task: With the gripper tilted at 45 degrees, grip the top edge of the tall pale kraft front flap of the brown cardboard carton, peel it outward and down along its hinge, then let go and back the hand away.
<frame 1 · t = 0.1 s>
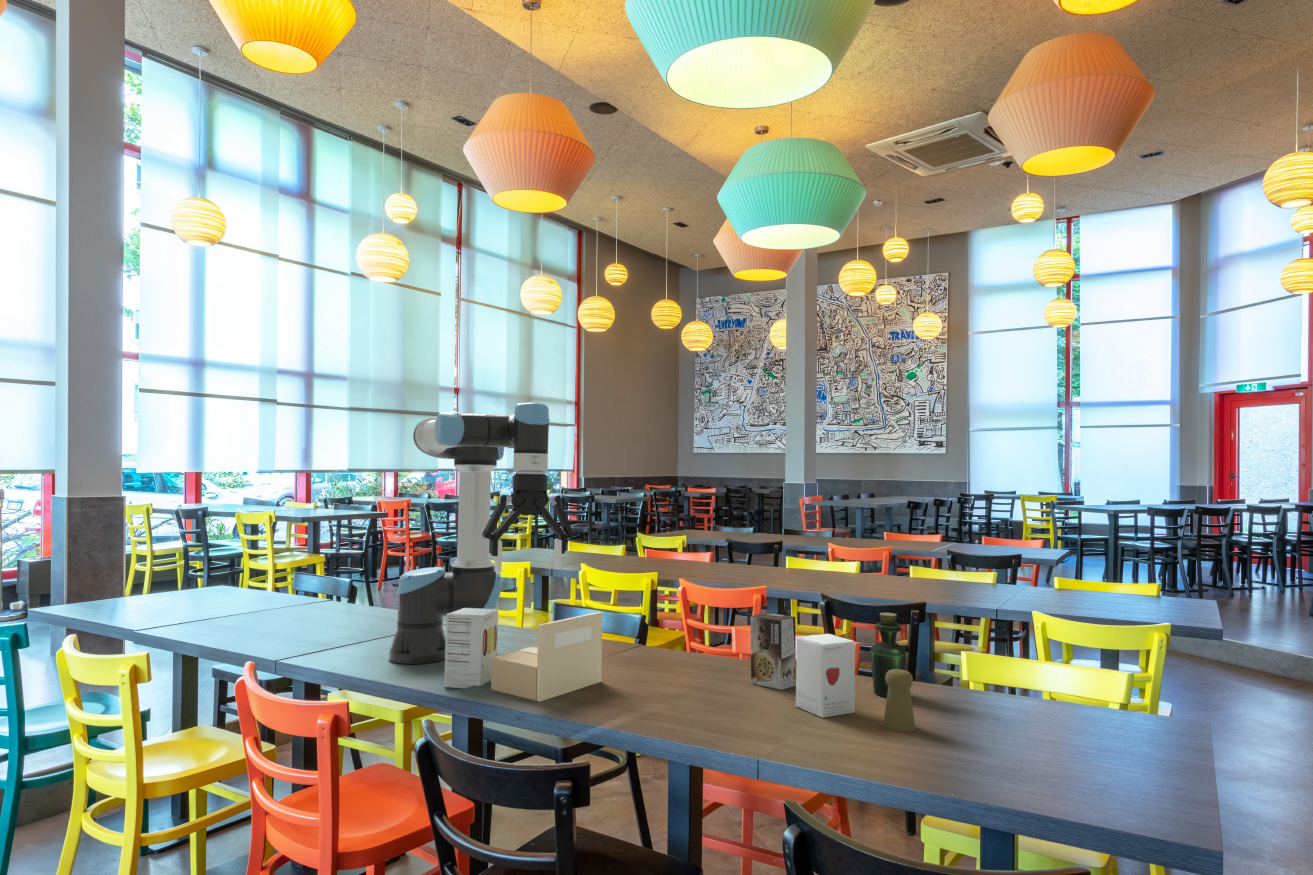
hand: (528, 570, 166), 28 cm above the table, tool pointing down, fingers open, 13 cm apart
potion bottle: (888, 694, 173), on the table
carton flap: (571, 654, 169), point 9 cm above the table, hinge at 0.0°
carton: (545, 689, 173), on the table
olive pawn: (899, 727, 150), on the table
supplement box: (470, 684, 177), on the table
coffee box: (773, 685, 180), on the table
supplement box 2: (825, 710, 160), on the table
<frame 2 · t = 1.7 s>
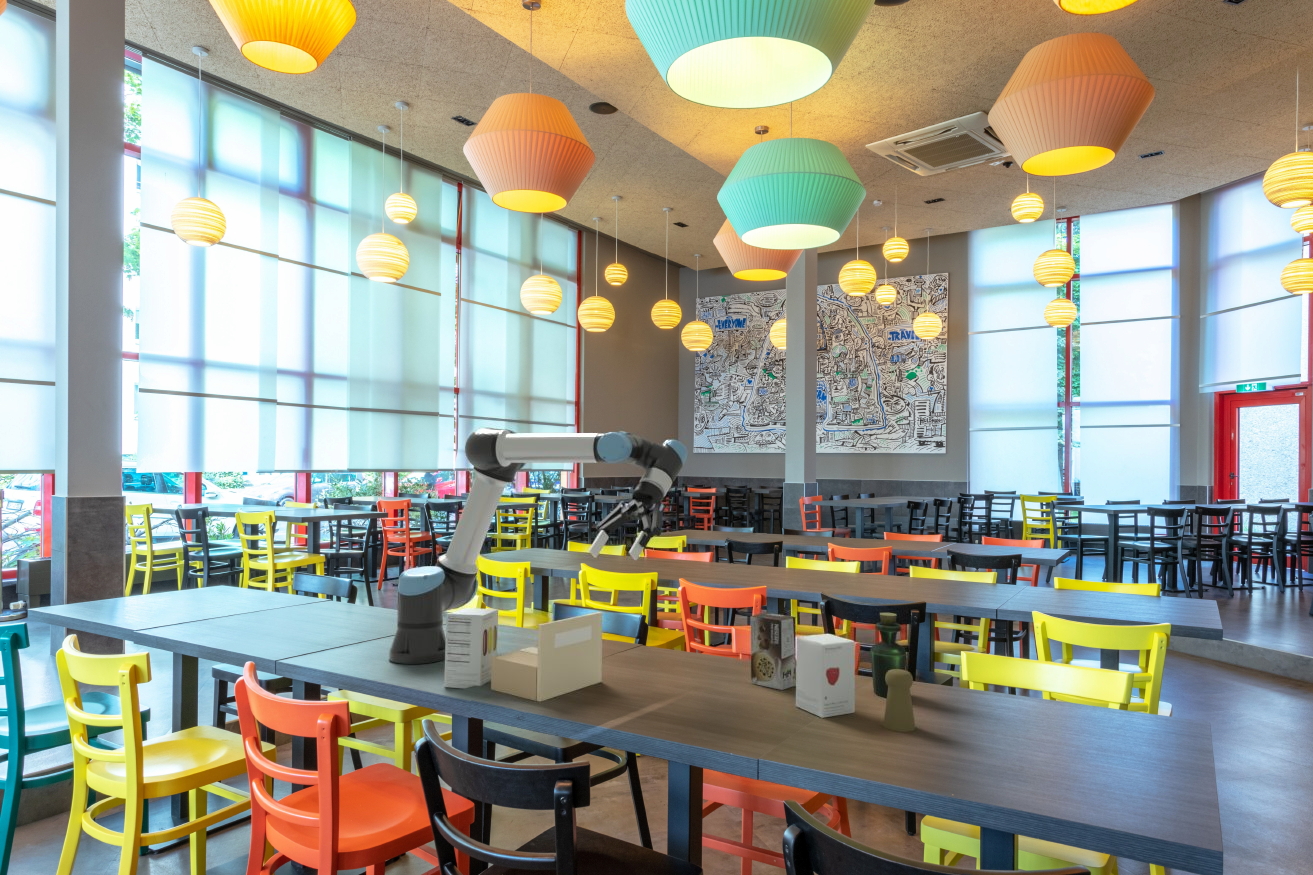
hand: (611, 555, 182), 30 cm above the table, tool tilted 45°, fingers open, 13 cm apart
nothing on the table moved.
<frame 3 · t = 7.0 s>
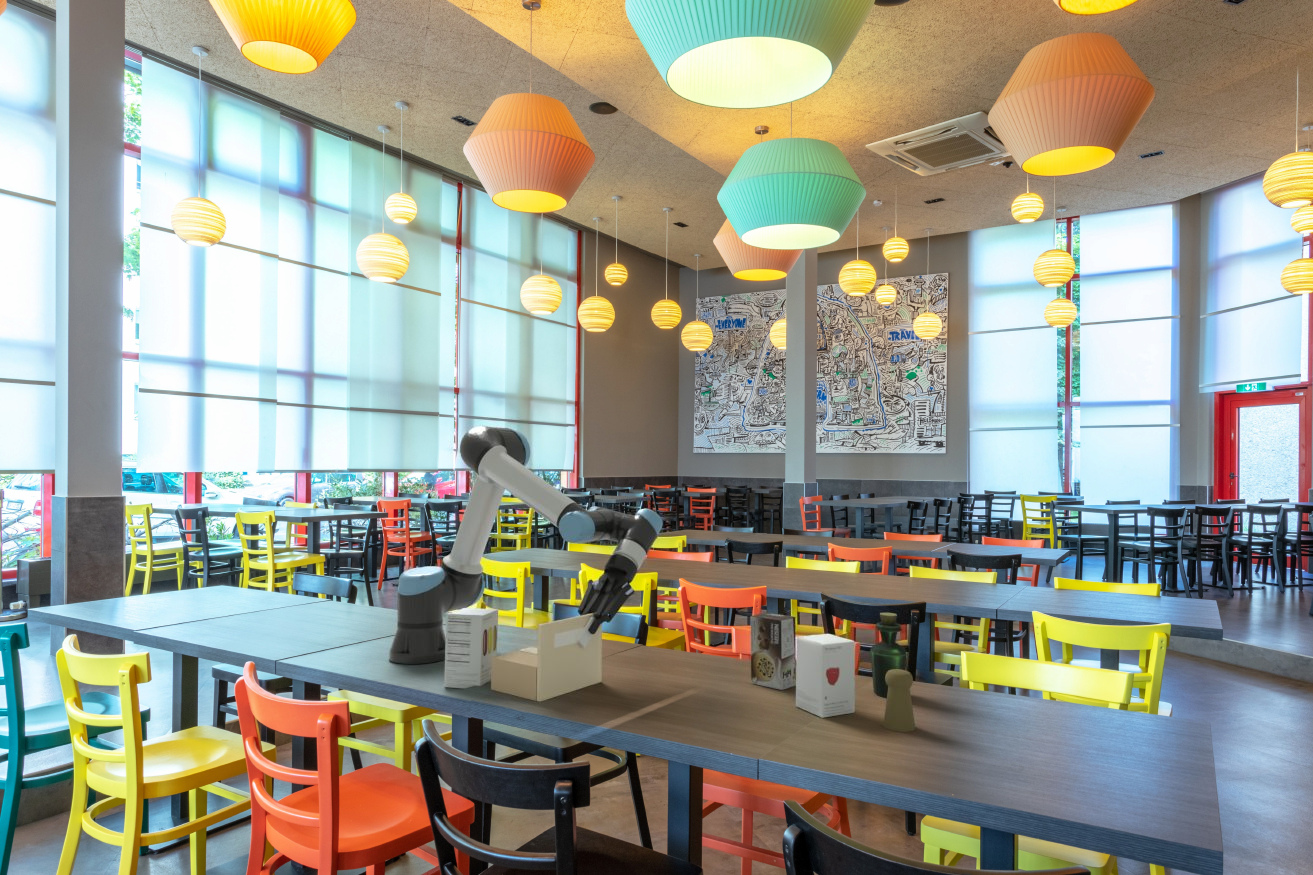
hand: (577, 643, 171), 11 cm above the table, tool tilted 45°, fingers closed on carton flap
carton flap: (571, 654, 169), point 9 cm above the table, hinge at -0.2°, touching gripper
everything else where it was.
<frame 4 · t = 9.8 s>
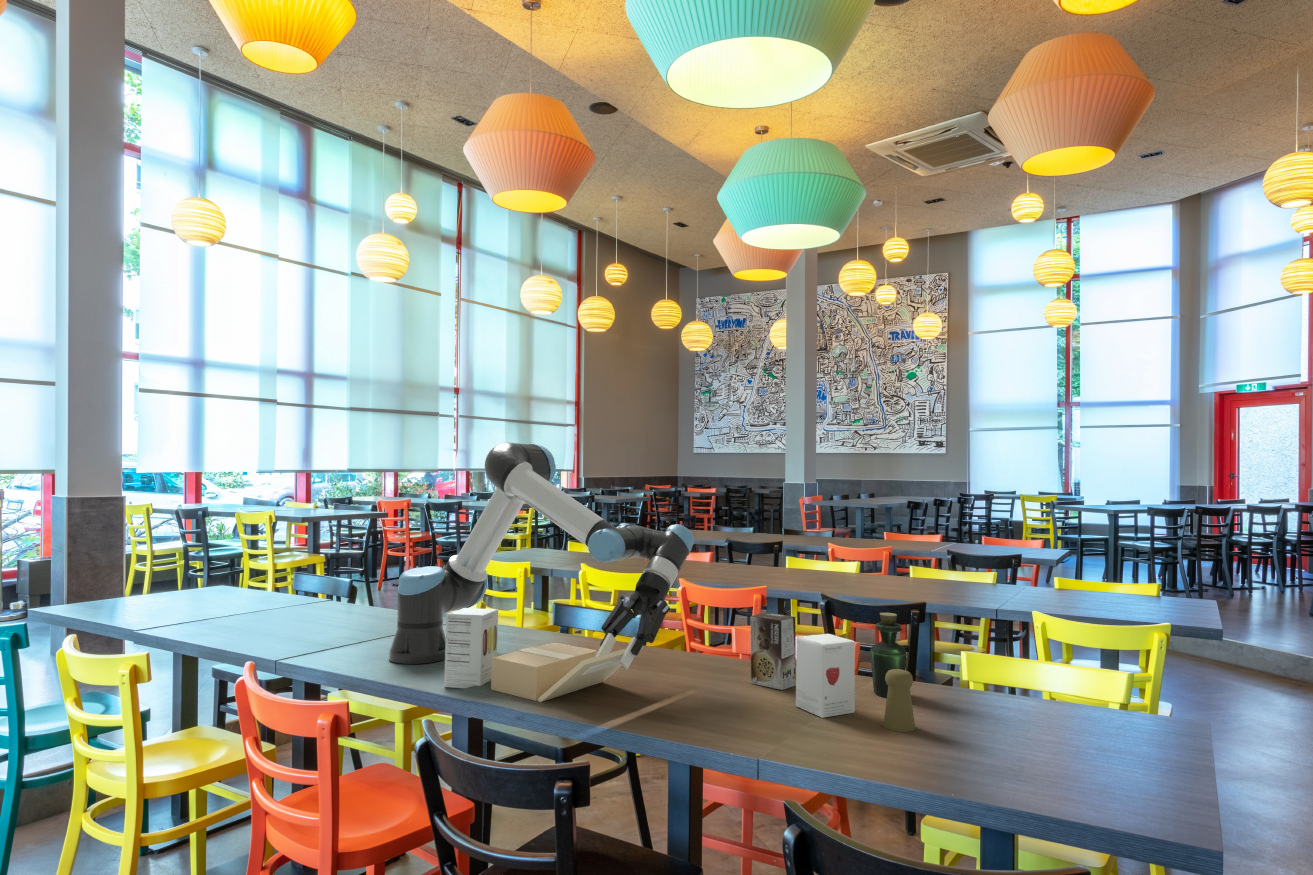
hand: (611, 663, 165), 8 cm above the table, tool tilted 45°, fingers closed on carton flap, 6 cm apart
carton flap: (592, 672, 165), point 6 cm above the table, hinge at 51.7°, touching gripper
everything else where it was.
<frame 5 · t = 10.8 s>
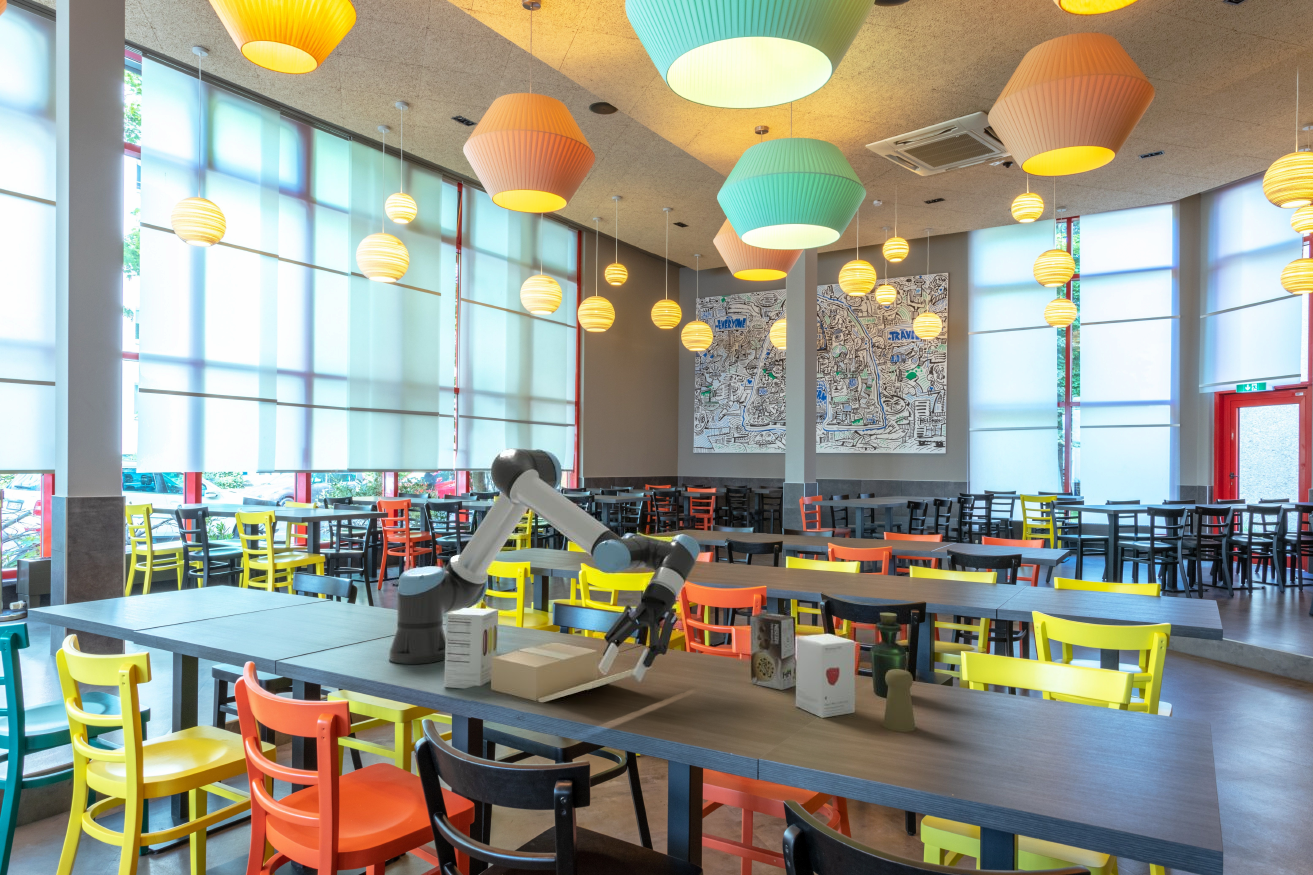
hand: (618, 674, 164), 6 cm above the table, tool tilted 45°, fingers open, 9 cm apart
carton flap: (596, 683, 165), point 4 cm above the table, hinge at 68.5°
everything else where it was.
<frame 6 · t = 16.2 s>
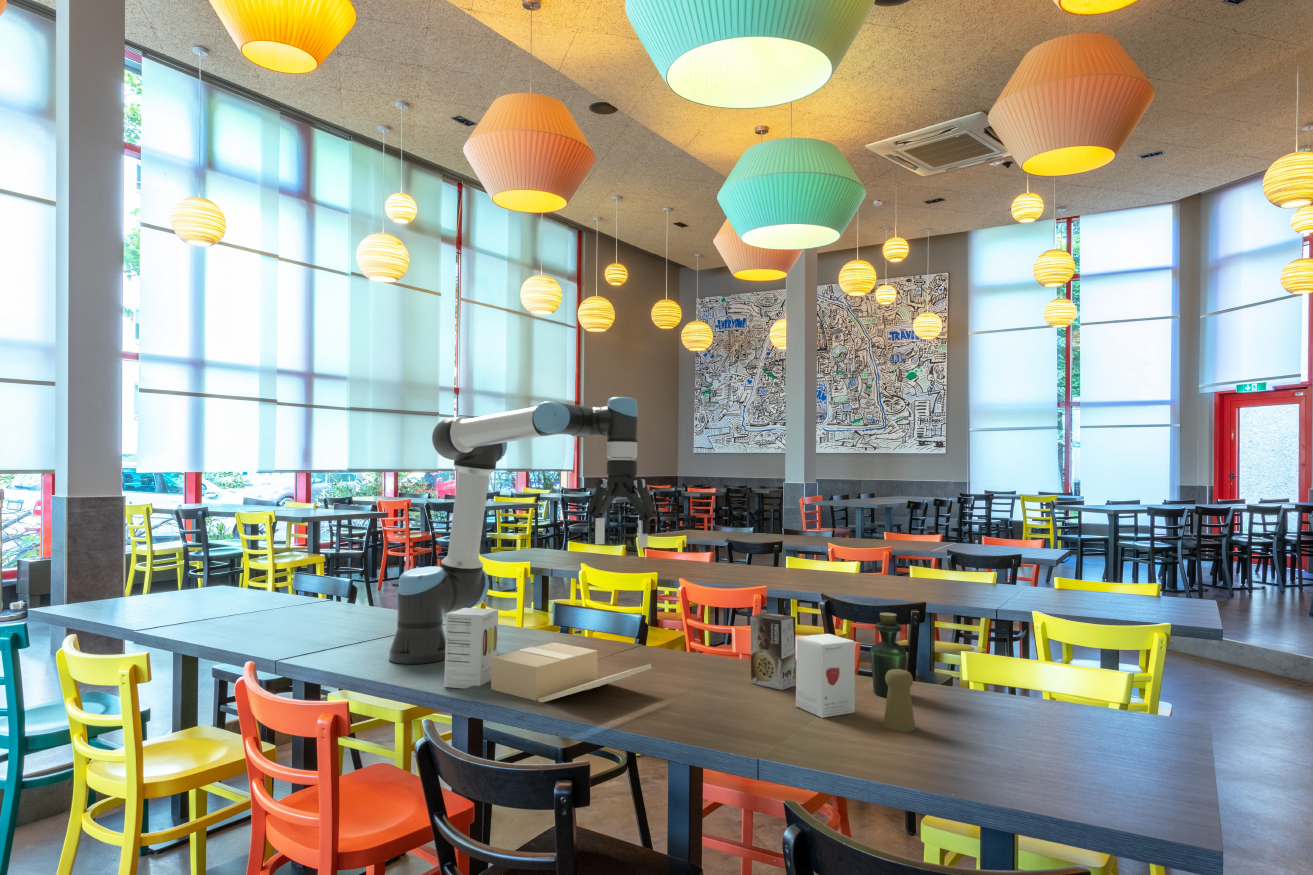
hand: (620, 545, 187), 32 cm above the table, tool pointing down, fingers open, 13 cm apart
nothing on the table moved.
at the end: carton flap at +68° (first picture: +0°); the gripper is holding nothing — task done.
